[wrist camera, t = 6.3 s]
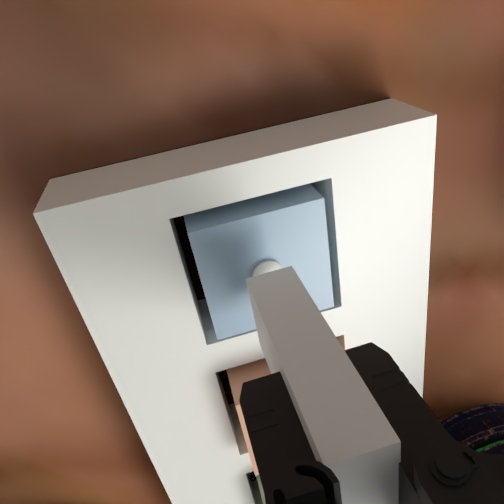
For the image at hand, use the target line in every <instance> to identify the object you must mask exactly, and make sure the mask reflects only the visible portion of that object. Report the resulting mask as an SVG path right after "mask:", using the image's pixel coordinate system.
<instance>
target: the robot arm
mask: <svg viewBox="0 0 504 504" xmlns="http://www.w3.org/2000/svg"><path fill="white" fill-rule="evenodd" d="M246 283H247V287H248V292H249V296H250V301H251V306H252V310H253V315H254V319H255V324H256V329H257V333H258V338H259V342H260V346H261V348H262V351H263V354H264V356H265V359H266V362H267V364H268V367H269V369H270V372H271V374H270V375H266V376H263V377H260V378H257V379H253V380H250V381H247V382H244V383H243V384H242V389H241V394H240V399H239V402H240V406H241V409H242V413H243V417H244V420H245V424H246V428H247V431H248V435H249V439H250V443H251V446H252V450H253V454H254V457H255V461H256V465H257V468H258V472H259V476H260V480H261V483H262V487H263V491H264V495H265V503H266V504H504V454H487V453H482V452H479V451H475V450H473V449H472V448H470V447H468V446H466V445H464V444H462V443H460V442H458V441H457V440H455V439H454V438H453V437H452V436H451V435H450V434H449V433H448V432H447V431H446V429H445V428H444V427H443V425H442V424H441V423H440V421H439V420H438V419H437V417H436V416H435V415H434V413H433V412H432V411H431V409H430V408H429V407H428V405H427V404H426V402H425V401H424V400H423V398H422V397H421V396H420V394H419V393H418V392H417V390H416V389H415V388H414V386H413V385H412V384H410V382H409V380H408V378H407V377H406V376H405V374H404V373H403V372H402V371H401V370H400V368H399V366H398V365H397V364H396V362H395V361H394V360H393V358H392V357H391V356H390V354H389V353H388V352H386V351H385V350H383V349H382V348H380V347H378V346H377V345H375V344H374V343H372V342H370V343H367V344H363V345H360V346H357V347H354V348H350V349H347V350H344V349H343V348H342V346H341V344H340V343H339V341H338V339H337V338H336V336H335V335H334V333H333V331H332V330H331V328H330V327H329V325H328V323H327V322H326V320H325V319H324V317H323V315H322V314H321V312H320V311H319V309H318V307H317V306H316V304H315V302H314V301H313V299H312V298H311V296H310V294H309V293H308V291H307V290H306V288H305V286H304V285H303V283H302V282H301V280H300V278H299V277H298V275H297V274H296V272H295V270H294V269H293V267H292V266H289V267H285V268H282V269H278V270H274V271H271V272H267V273H264V274H260V275H256V276H253V277H249V278H246Z"/></svg>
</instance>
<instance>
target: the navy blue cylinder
mask: <svg viewBox="0 0 504 504" xmlns="http://www.w3.org/2000/svg"><path fill="white" fill-rule="evenodd" d="M441 424H442V425H443V427H444V428H445V429H446V431H447V432H448V433H449V434H450V435H451V436H452V437H453V438H454V439H455V440H457V441H458V442H460V443H462V444H464V445H466V446H468V447H470V448H472V449H473V450H475V451H479V452H482V453H487V454H504V404H488V405H482V406H478V407H474V408H471V409H468V410H465V411H463V412H461V413H459V414H456V415H454V416H452V417H450V418H449V419H447V420H445V421H443V422H442V423H441Z"/></svg>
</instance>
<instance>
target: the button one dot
mask: <svg viewBox="0 0 504 504" xmlns="http://www.w3.org/2000/svg"><path fill="white" fill-rule="evenodd" d="M183 216H184V220H185V225H186V229H187V234H188V237H189V241H190V244H191V248H192V251H193V255H194V258H195V262H196V265H197V269H198V273H199V276H200V280H201V283H202V287H203V290H204V294H205V297H206V301H207V304H208V308H209V312H210V315H211V319H212V322H213V326H214V329H215V333H216V336H217V340H220V339H224V338H227V337H231V336H234V335H237V334H241V333H244V332H248V331H251V330H255V329H256V324H255V319H254V315H253V310H252V306H251V301H250V296H249V292H248V287H247V283H246V278H249V277H253V276H256V275H260V274H264V273H267V272H271V271H274V270H278V269H282V268H285V267H289V266H292V267H293V269H294V270H295V272H296V274H297V275H298V277H299V278H300V280H301V282H302V283H303V285H304V286H305V288H306V290H307V291H308V293H309V294H310V296H311V298H312V299H313V301H314V302H315V304H316V306H317V307H318V309H319V311H321V310H324V309H328V308H331V307H334V299H333V288H332V277H331V266H330V255H329V244H328V233H327V222H326V211H325V200H324V197H323V196H322V195H321V194H320V193H319V192H318V191H317V190H316V189H315V188H314V187H313V186H312V185H311V184H310V183H309V184H305V185H301V186H297V187H293V188H289V189H285V190H281V191H278V192H274V193H270V194H266V195H262V196H258V197H254V198H250V199H246V200H242V201H238V202H234V203H230V204H226V205H222V206H219V207H215V208H211V209H207V210H203V211H199V212H195V213H191V214H187V215H183Z"/></svg>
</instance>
